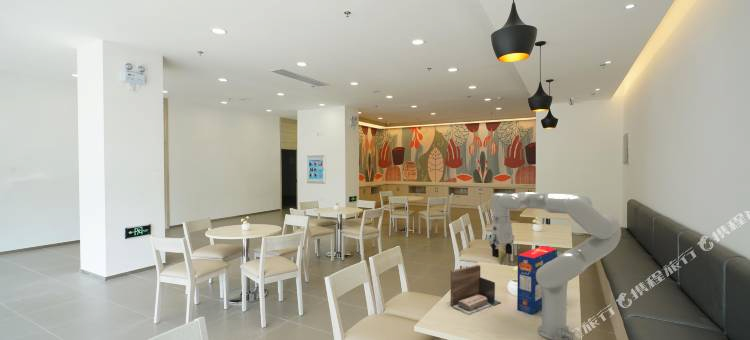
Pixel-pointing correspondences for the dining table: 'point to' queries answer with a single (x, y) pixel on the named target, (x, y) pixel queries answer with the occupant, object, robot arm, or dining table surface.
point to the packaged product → (472, 304)
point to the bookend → (488, 290)
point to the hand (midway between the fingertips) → (502, 255)
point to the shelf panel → (464, 283)
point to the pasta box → (531, 278)
